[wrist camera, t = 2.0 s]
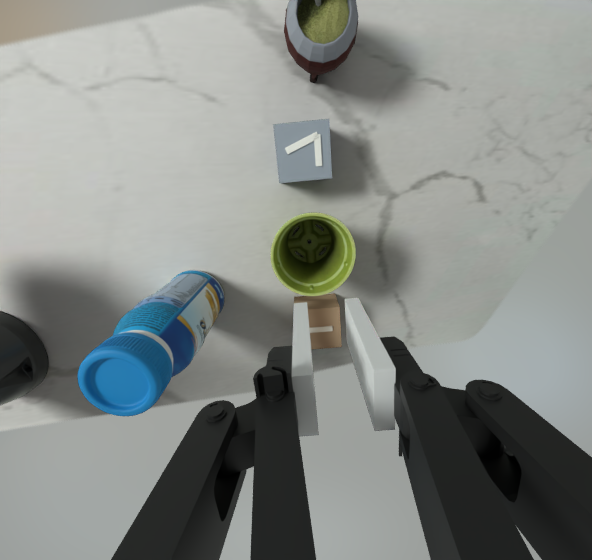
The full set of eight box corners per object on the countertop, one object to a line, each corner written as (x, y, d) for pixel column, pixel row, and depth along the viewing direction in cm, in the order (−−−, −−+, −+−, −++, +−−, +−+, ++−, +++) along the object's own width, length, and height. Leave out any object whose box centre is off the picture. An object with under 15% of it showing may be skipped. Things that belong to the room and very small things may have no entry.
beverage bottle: (191, 255, 41) (97, 319, 22) (238, 293, 42) (189, 383, 23) (157, 297, 42) (44, 388, 24) (203, 331, 44) (133, 442, 25)
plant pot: (357, 232, 39) (373, 245, 31) (317, 286, 42) (321, 311, 34) (301, 192, 38) (303, 194, 30) (262, 249, 40) (254, 266, 32)
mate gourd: (341, 91, 34) (373, 24, 20) (275, 80, 34) (259, 5, 20) (354, 13, 32) (400, -125, 18) (283, 1, 31) (272, -150, 17)
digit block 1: (297, 332, 44) (298, 351, 40) (294, 296, 43) (293, 311, 38) (336, 329, 44) (341, 347, 39) (334, 293, 42) (339, 307, 37)
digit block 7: (281, 183, 38) (279, 183, 33) (276, 132, 36) (273, 124, 31) (327, 178, 37) (332, 178, 32) (324, 127, 35) (329, 118, 31)
